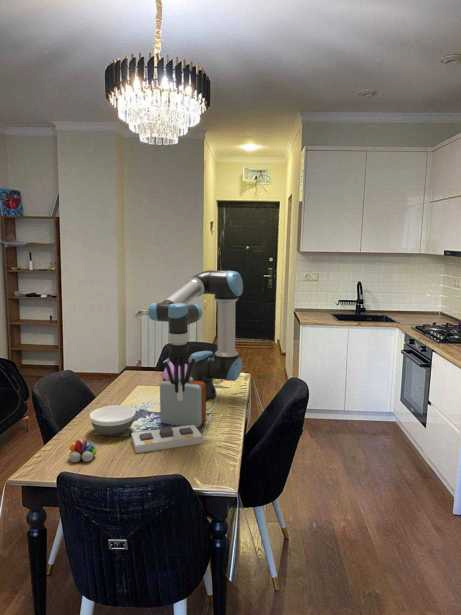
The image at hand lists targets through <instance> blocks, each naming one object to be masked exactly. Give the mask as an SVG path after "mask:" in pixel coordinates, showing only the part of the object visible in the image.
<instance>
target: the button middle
mask: <svg viewBox="0 0 461 615" xmlns="http://www.w3.org/2000/svg"><path fill="white" fill-rule="evenodd" d="M172 428H173V427H171V426H169V427H161V428H159V429H160V436H161V438H166V437H173V430H172Z"/></svg>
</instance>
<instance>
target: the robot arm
mask: <svg viewBox="0 0 461 615" xmlns="http://www.w3.org/2000/svg"><path fill="white" fill-rule="evenodd" d="M242 278H243V277H242V276H241V274H240V273H239V272H238V271H234V270H209V269H208V270H204V271H202V272H199V273H197V274H195V275H193V276H192V277H190V278H189V279H187V281H186V284H184V285H183V286H181V287H180V288H179V289H177V290H176V291H175V292H173V293H172V294H171V295H170V296H168V297H166V298H165V299H164V300H163V301H161V302H152V303H151V304H150V305H149V307H148V309H147V312H148V318H149V319H150V320H151V321H155V322H167V323H168V342H169V344H168V348H169V350H168V352H169V354H168V356H167V357H168V358H167V359H165V360H162V363H163V365H164V366H165V368H166V370H167V373H168V377H169V380H170V383H171V384H174V385H175V392H176V393H177V399H178V400H179V401H183V396H182V392H184V391H185V383H187V382H189V380H190V377H191V378H193V381H202V382H204V383H205V384H206V402H207V401H212V400H215V399H216V397H217V390H216V387H215V384H214V380H221V381H227V382H230V381H231V382H234V381H236V380H238V378H239V377H240V375H241V373H242V369H243V360H242V358H241V357H239V352H237V351H236V302H237V301H238V300H239V296H241V295H242V294H243V290H244V283H243V279H242ZM202 295H214V300H215V301H216V302H217V350H216V351H215V352H214V353H213V351H211V350H202V351H197V352H194V353H191V355H190V354H189V343H188V342H189V325H191V324H194V323H197V322H198V321H200V320H201V319H202V317H203V309H202V307H201V306H200V305H198V304H197V303H190V302H191V301H192V300H194V299H196V297H201V296H202ZM170 361H171V363H172V364H173V365H174V380H173V377H172V373H171V369H170V366H169V364H170ZM187 362H188V363H187ZM185 364H187V371H186V376H185ZM179 366H180V382H181V383H179V378H178V369H179Z"/></svg>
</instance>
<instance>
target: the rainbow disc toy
mask: <svg viewBox="0 0 461 615" xmlns="http://www.w3.org/2000/svg"><path fill="white" fill-rule="evenodd" d="M94 444H95V443H94V442H90V443H89V444H88V439H85V438H84V439H83V441H81V440H80V439H76V440H75V443H74V444H71V445H70V446H69V450H70V452H69V460H70V462H72V463H78V462H80V460H82V461H83V462H85V463H89V462H91V461H92V460H94V456H95V455H97V449H96V446H95V445H94Z"/></svg>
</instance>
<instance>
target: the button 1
mask: <svg viewBox="0 0 461 615" xmlns="http://www.w3.org/2000/svg"><path fill="white" fill-rule="evenodd" d="M151 439H153V436H152V434H151V433H144V434H140V440H141V441H144V440H151Z"/></svg>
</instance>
